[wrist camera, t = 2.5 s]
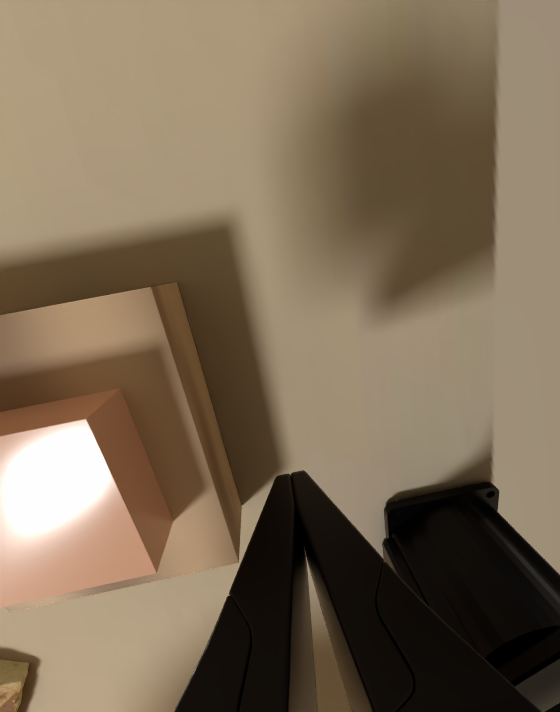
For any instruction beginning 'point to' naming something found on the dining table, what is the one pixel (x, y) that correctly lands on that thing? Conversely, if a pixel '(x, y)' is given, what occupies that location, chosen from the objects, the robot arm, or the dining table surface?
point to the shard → (12, 684)
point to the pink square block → (76, 499)
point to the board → (135, 409)
